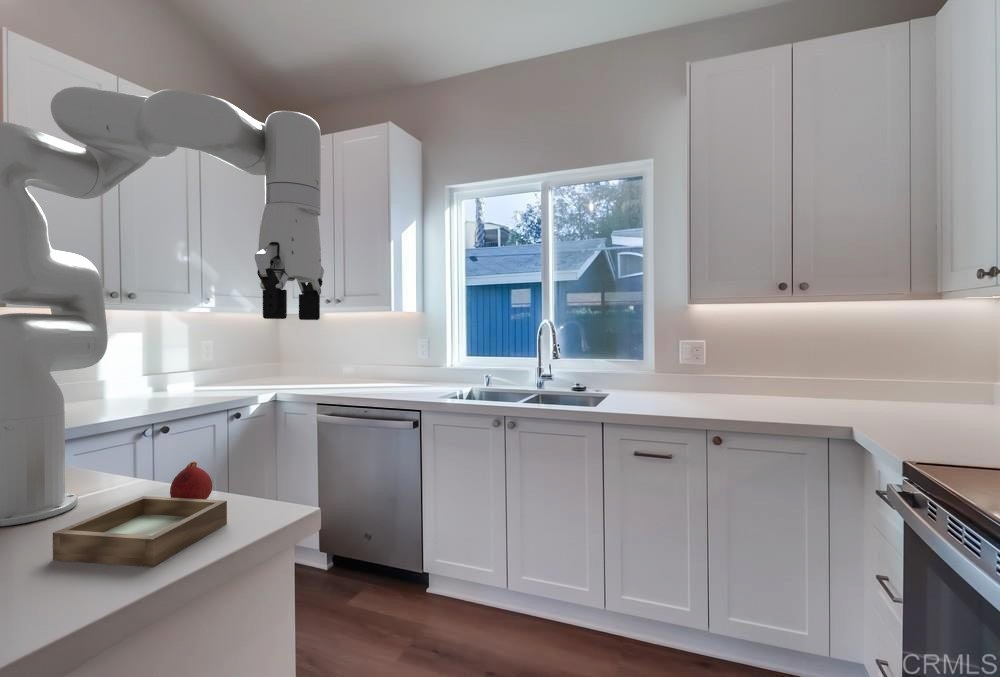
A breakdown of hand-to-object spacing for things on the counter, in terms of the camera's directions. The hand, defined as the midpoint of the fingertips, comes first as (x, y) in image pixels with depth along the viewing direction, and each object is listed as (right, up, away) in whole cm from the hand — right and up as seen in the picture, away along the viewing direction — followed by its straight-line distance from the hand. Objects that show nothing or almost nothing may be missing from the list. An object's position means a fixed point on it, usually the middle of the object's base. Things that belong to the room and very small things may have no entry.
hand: (293, 319), depth 74 cm
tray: (-19, -31, -4) cm, 37 cm away
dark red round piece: (-20, -31, +7) cm, 37 cm away
